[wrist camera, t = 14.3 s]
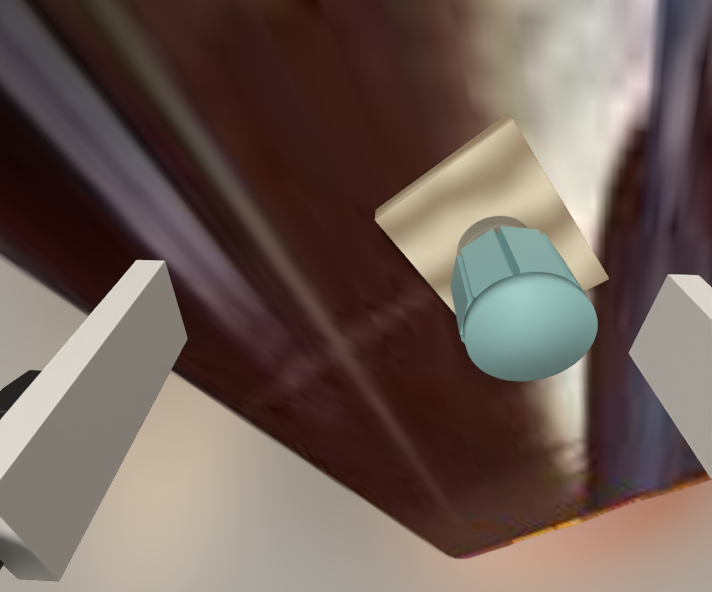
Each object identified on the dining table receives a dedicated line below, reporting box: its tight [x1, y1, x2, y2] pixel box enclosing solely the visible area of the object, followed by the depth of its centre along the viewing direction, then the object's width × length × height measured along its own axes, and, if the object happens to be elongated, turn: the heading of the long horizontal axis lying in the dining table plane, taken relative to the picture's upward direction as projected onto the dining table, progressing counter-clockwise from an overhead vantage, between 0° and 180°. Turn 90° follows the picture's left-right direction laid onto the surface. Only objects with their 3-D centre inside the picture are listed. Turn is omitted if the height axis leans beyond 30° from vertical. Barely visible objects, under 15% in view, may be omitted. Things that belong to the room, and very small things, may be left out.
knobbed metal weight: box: [457, 216, 528, 256], centre depth 33 cm, size 6×6×6 cm
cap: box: [450, 226, 598, 381], centre depth 29 cm, size 8×8×7 cm
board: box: [375, 114, 609, 315], centre depth 36 cm, size 16×12×2 cm
